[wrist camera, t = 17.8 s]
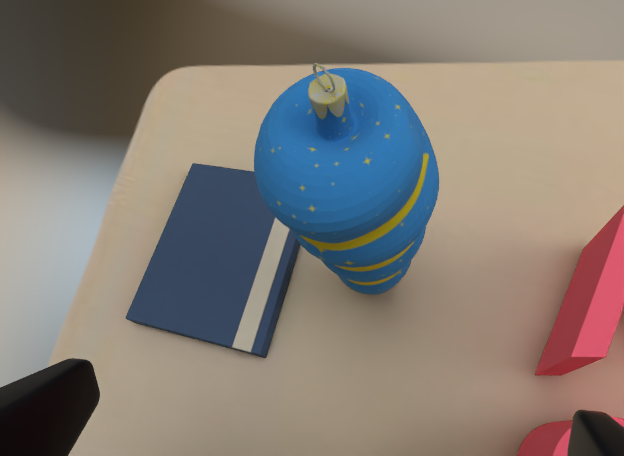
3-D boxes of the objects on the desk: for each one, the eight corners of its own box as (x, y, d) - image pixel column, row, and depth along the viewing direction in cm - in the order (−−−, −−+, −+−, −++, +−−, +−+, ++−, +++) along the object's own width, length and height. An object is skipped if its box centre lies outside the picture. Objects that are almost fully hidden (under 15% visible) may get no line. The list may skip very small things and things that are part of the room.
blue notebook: (266, 358, 22) (259, 354, 21) (134, 322, 25) (123, 318, 24) (317, 188, 26) (313, 178, 25) (199, 171, 28) (191, 161, 27)
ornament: (370, 358, 21) (308, 224, 8) (305, 283, 24) (171, 84, 10) (447, 287, 22) (505, 57, 9) (376, 221, 24) (336, -39, 11)
